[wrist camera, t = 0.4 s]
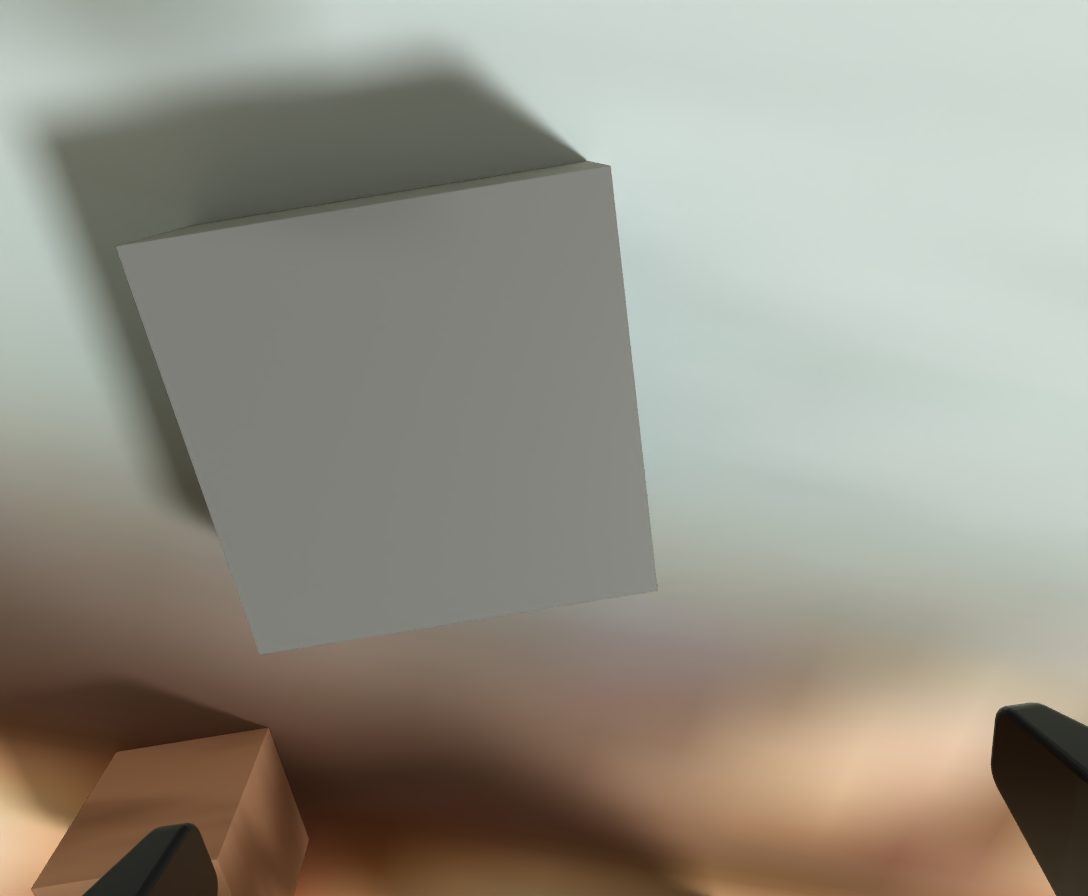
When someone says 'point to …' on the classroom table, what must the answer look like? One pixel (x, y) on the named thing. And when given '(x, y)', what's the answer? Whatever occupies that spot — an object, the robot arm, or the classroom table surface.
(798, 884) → the classroom table surface
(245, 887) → the terracotta cube
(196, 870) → the robot arm
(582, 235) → the base block
